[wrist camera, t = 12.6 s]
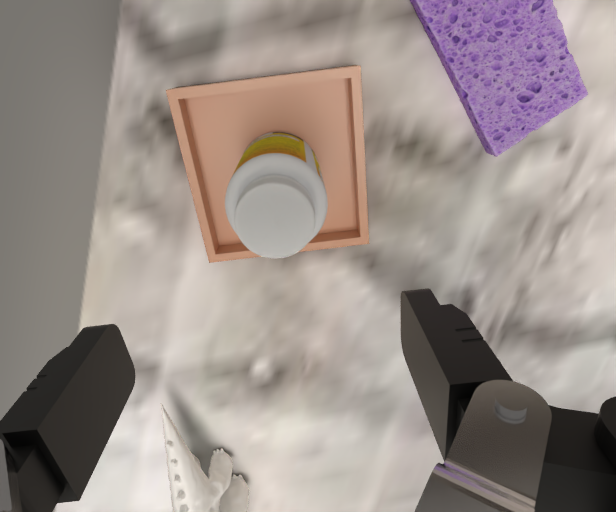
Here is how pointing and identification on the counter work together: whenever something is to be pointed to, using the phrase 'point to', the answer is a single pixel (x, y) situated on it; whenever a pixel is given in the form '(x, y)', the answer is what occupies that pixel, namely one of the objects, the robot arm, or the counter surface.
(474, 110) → the sponges
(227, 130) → the tray
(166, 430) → the white dinosaur figurine
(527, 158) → the counter surface
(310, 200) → the supplement bottle
